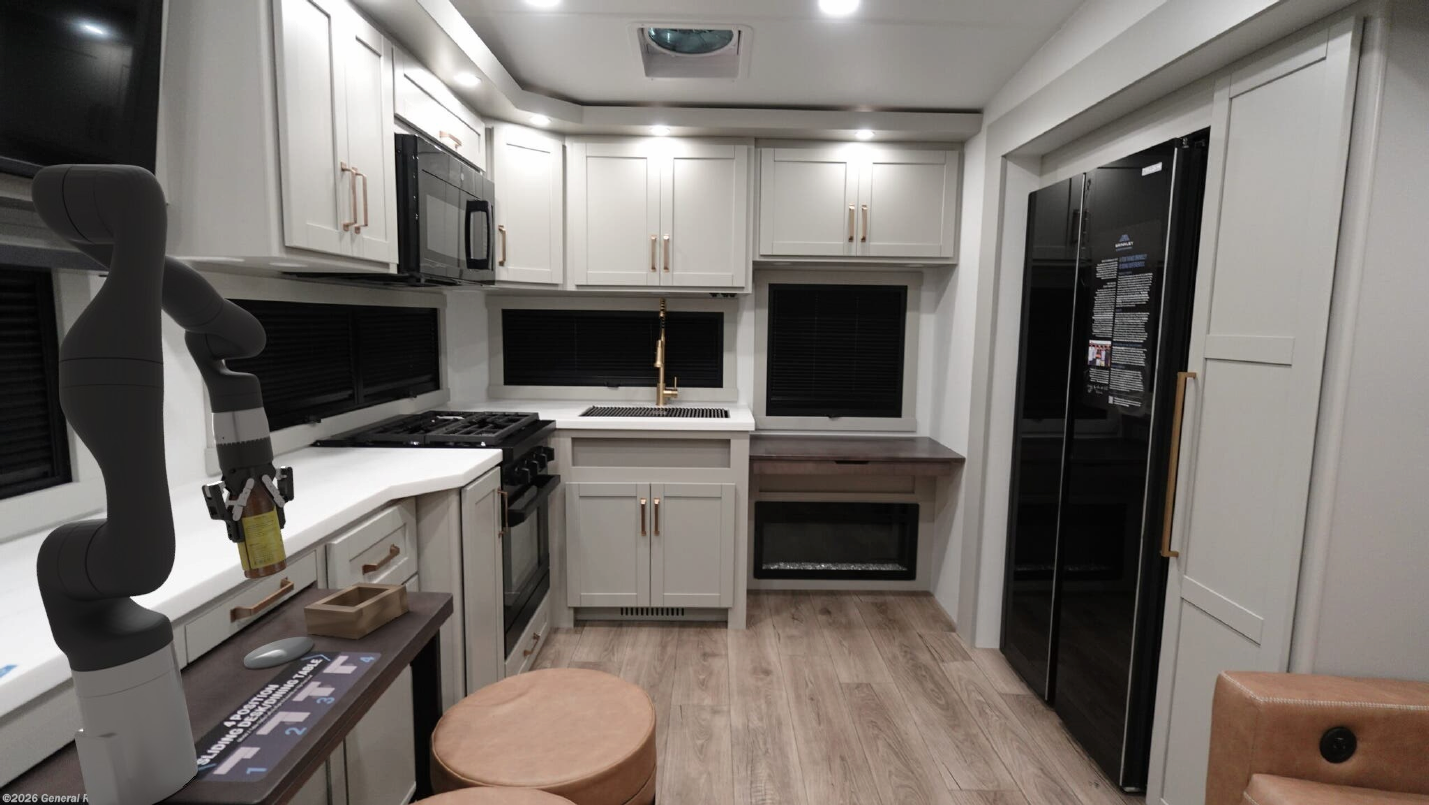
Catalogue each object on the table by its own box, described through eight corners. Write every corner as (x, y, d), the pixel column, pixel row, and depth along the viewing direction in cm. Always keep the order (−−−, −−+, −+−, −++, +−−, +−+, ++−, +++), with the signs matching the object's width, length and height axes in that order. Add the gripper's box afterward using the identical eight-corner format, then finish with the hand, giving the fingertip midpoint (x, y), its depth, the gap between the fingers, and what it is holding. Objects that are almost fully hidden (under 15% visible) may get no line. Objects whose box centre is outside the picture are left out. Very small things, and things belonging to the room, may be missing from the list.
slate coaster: (272, 671, 108) (271, 668, 108) (229, 665, 112) (229, 662, 112) (326, 642, 118) (326, 639, 117) (285, 638, 121) (285, 634, 121)
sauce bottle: (296, 565, 116) (278, 453, 113) (269, 579, 109) (249, 460, 107) (261, 567, 116) (243, 455, 114) (232, 581, 110) (212, 463, 108)
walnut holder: (357, 639, 118) (353, 612, 117) (307, 634, 122) (303, 608, 121) (409, 610, 129) (405, 585, 128) (362, 606, 133) (358, 582, 132)
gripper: (212, 445, 102) (231, 551, 104) (299, 429, 116) (313, 523, 118) (180, 446, 105) (198, 549, 107) (268, 430, 118) (283, 522, 120)
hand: (259, 535), depth 112 cm, fingers closed on sauce bottle, 6 cm apart
